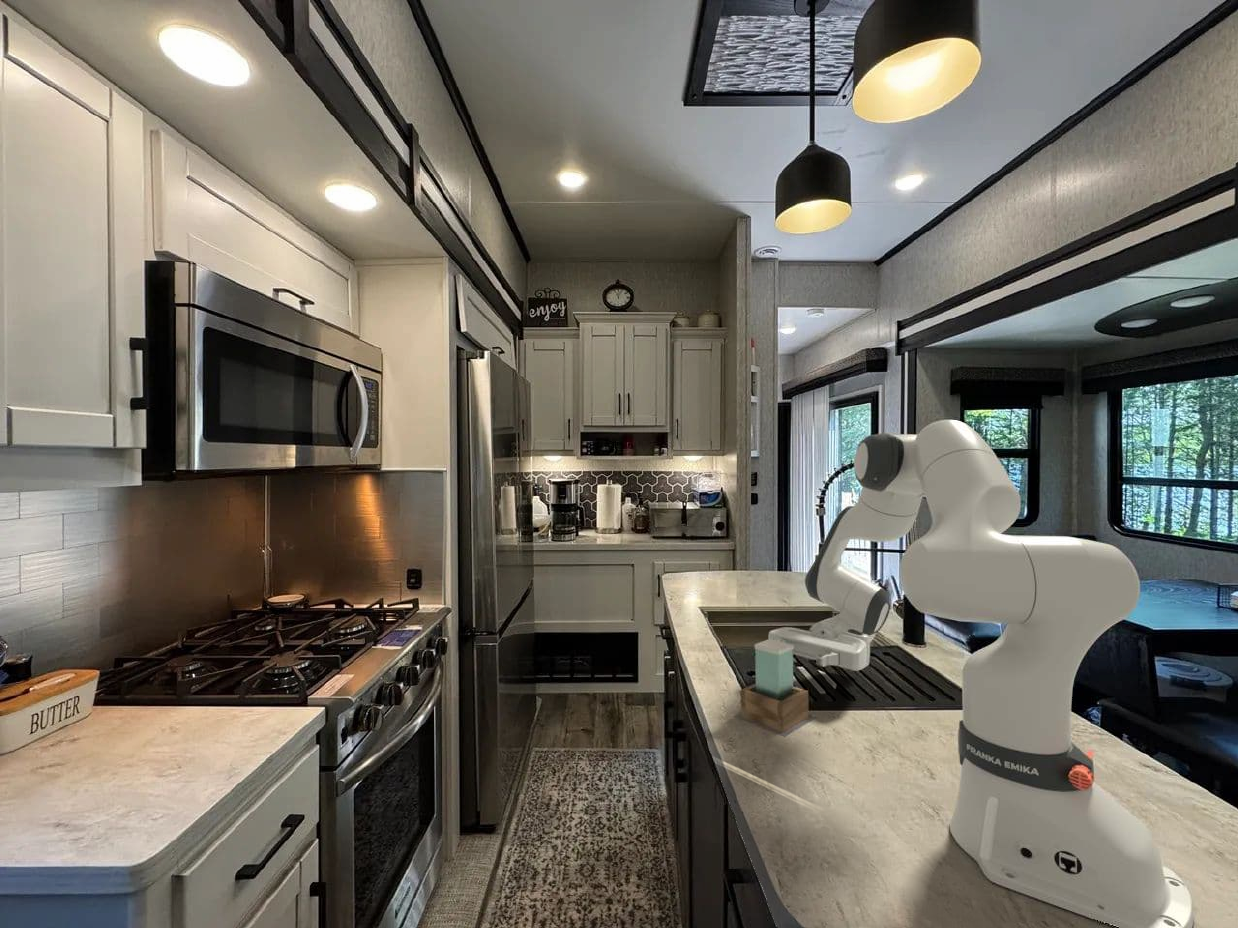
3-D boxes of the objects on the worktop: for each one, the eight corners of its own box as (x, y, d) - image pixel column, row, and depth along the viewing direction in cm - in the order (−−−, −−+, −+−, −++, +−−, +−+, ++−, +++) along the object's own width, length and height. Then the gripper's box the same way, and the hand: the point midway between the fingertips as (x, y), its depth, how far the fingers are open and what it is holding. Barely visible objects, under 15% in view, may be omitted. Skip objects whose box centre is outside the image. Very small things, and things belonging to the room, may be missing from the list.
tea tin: (794, 709, 104) (793, 644, 105) (779, 717, 101) (778, 650, 101) (770, 700, 108) (769, 638, 108) (755, 708, 105) (754, 644, 105)
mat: (816, 719, 104) (816, 717, 104) (785, 738, 97) (785, 736, 97) (765, 701, 112) (765, 699, 112) (733, 718, 105) (733, 716, 105)
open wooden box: (808, 717, 104) (808, 690, 104) (783, 732, 98) (782, 704, 98) (767, 702, 111) (767, 677, 111) (740, 716, 105) (740, 689, 105)
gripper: (787, 617, 128) (753, 629, 119) (876, 636, 113) (845, 652, 104) (787, 644, 128) (753, 658, 119) (876, 667, 113) (846, 685, 104)
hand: (797, 655), depth 111 cm, fingers open, 8 cm apart
